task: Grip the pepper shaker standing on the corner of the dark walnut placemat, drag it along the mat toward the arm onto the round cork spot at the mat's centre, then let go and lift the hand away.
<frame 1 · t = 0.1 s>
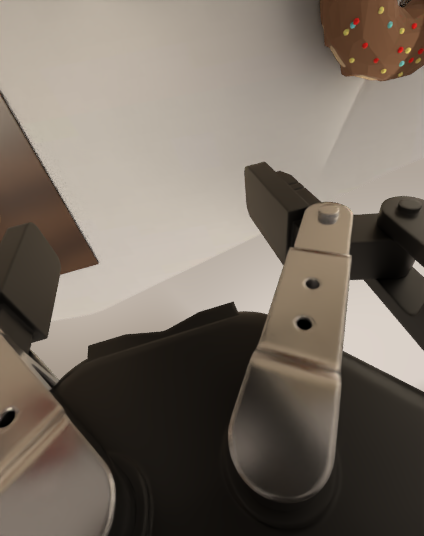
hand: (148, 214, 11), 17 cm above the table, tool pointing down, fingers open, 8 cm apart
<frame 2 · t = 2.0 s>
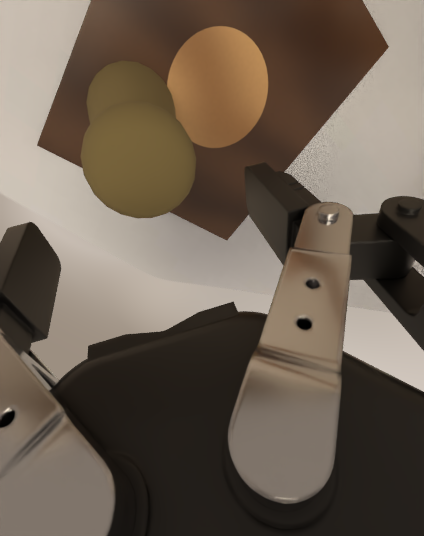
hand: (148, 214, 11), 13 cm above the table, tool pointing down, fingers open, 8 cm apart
placemat: (218, 93, 21), on the table
pepper shaker: (132, 112, 20), resting on placemat
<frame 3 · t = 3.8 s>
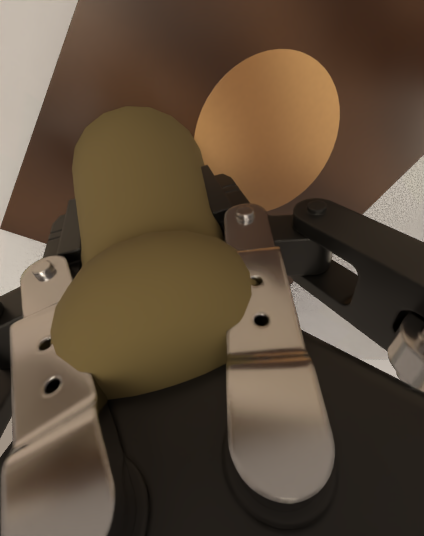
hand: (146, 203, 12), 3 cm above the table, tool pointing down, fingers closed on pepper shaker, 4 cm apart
placemat: (266, 144, 14), on the table
pepper shaker: (142, 175, 14), resting on placemat, touching gripper
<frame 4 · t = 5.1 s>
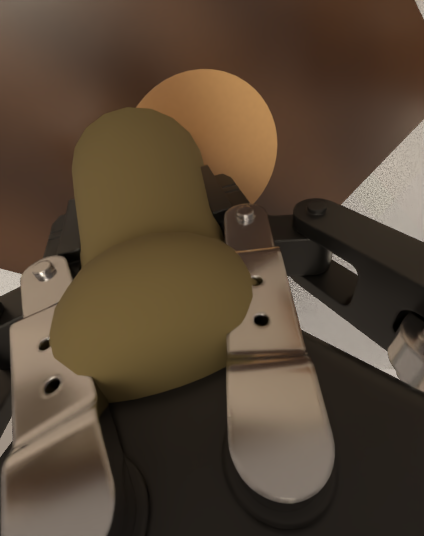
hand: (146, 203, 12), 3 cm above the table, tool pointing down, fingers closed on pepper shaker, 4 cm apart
placemat: (202, 162, 14), on the table
pepper shaker: (142, 177, 14), resting on placemat, touching gripper
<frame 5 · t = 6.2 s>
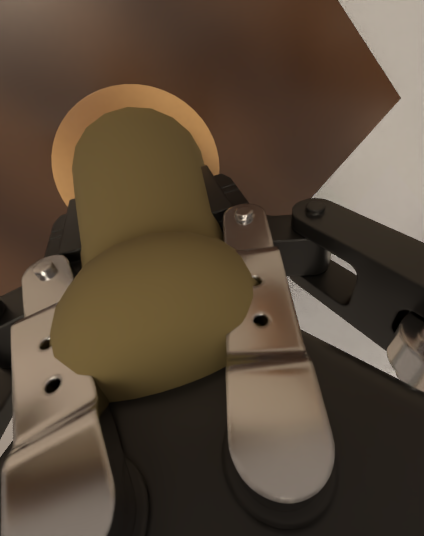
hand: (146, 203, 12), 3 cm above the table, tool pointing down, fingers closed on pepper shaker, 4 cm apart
placemat: (142, 176, 14), on the table
pepper shaker: (142, 176, 14), resting on placemat, touching gripper
when the fingers open (3 cm above the table, at t = 6.5 s): pepper shaker stays where it is, resting on placemat.
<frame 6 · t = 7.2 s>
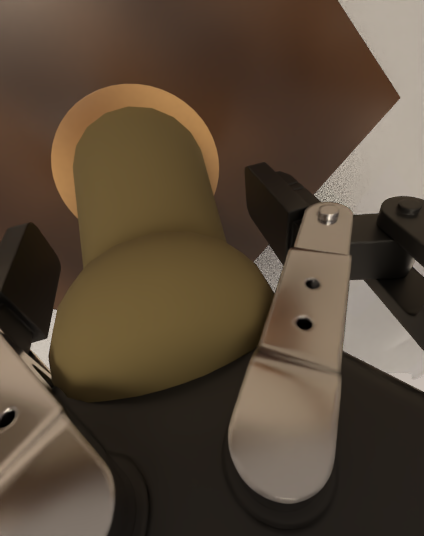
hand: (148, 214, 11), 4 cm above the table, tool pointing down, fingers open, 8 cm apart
placemat: (141, 176, 14), on the table
pepper shaker: (143, 176, 14), resting on placemat
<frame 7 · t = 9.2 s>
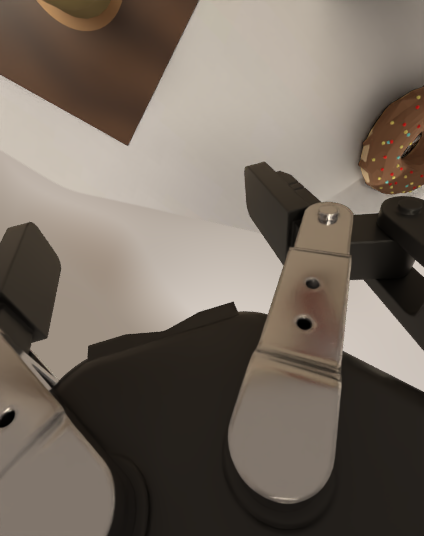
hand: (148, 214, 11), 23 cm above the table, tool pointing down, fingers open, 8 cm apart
donut: (397, 135, 39), on the table
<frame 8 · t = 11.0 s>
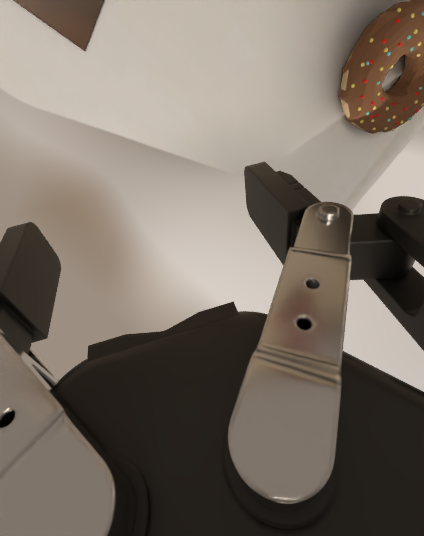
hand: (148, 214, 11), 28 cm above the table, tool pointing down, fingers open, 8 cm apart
donut: (379, 67, 37), on the table
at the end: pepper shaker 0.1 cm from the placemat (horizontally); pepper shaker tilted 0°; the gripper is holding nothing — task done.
